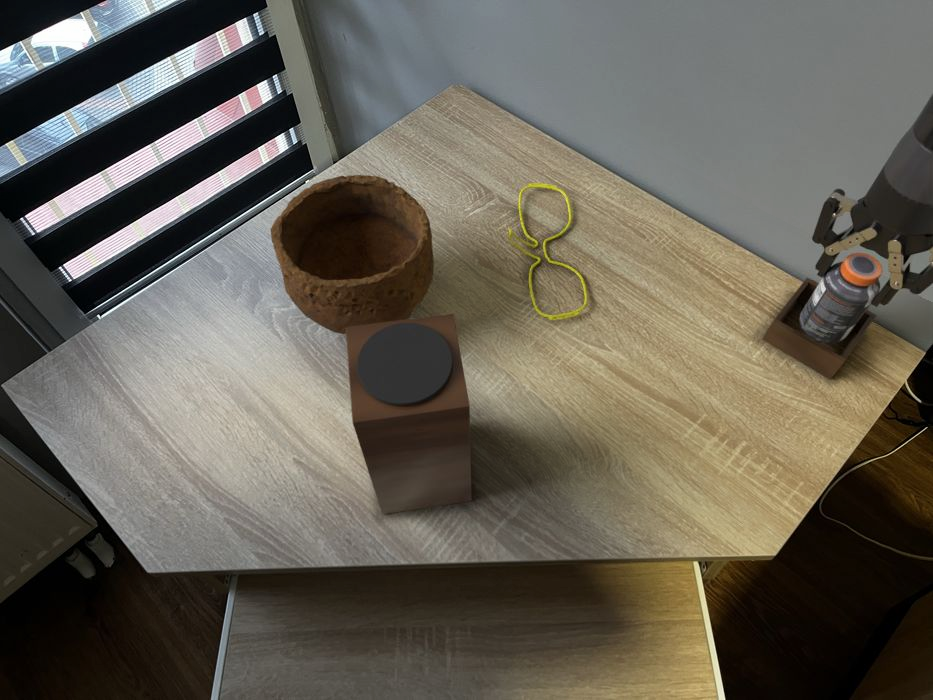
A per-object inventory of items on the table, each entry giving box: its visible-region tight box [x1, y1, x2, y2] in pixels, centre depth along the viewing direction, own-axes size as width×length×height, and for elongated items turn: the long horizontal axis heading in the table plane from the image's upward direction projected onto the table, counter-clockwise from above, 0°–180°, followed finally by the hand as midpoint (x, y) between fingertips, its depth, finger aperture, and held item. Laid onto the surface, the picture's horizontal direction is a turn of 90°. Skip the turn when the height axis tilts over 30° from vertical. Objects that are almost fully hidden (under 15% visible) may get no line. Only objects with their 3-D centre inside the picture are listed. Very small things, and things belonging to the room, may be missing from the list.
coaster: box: [357, 323, 453, 406], centre depth 61 cm, size 8×8×1 cm
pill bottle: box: [798, 252, 883, 344], centre depth 82 cm, size 6×6×11 cm
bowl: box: [270, 174, 435, 335], centre depth 87 cm, size 19×19×15 cm
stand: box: [345, 312, 473, 515], centre depth 71 cm, size 10×10×22 cm
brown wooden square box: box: [762, 277, 877, 380], centre depth 88 cm, size 9×9×4 cm
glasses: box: [507, 182, 588, 321], centre depth 96 cm, size 25×10×5 cm, turn 3°
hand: (849, 286), depth 80 cm, fingers closed on pill bottle, 6 cm apart
